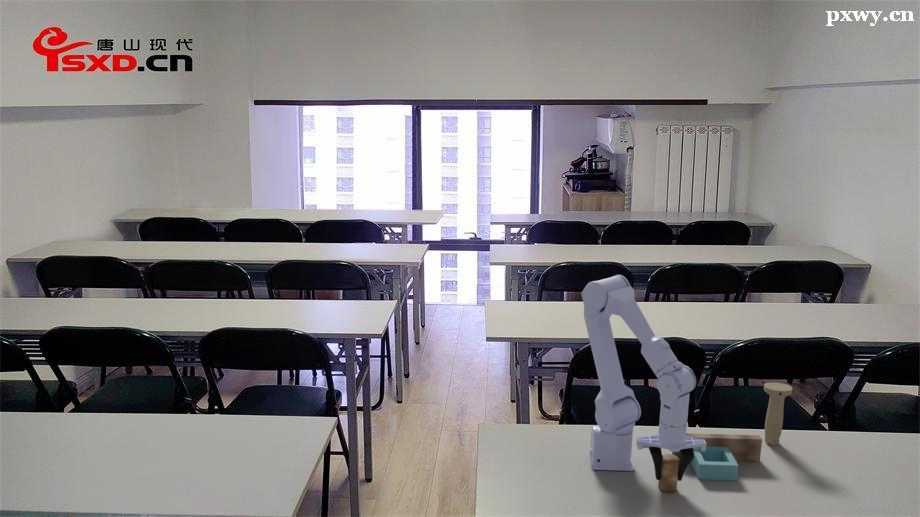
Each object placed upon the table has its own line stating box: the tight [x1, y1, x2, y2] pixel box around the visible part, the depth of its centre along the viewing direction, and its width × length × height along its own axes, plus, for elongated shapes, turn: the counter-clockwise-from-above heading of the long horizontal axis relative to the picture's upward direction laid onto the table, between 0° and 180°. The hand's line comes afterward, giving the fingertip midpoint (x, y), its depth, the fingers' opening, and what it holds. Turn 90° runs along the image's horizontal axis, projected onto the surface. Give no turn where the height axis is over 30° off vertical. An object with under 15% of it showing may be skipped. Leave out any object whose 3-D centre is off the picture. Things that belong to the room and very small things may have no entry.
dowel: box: [657, 453, 679, 493], centre depth 178 cm, size 4×4×7 cm
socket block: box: [689, 446, 739, 481], centre depth 186 cm, size 9×9×4 cm
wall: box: [671, 432, 763, 463], centre depth 191 cm, size 20×2×6 cm, turn 88°
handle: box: [763, 382, 793, 447], centre depth 198 cm, size 5×6×15 cm
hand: (668, 478), depth 178 cm, fingers closed on dowel, 4 cm apart
